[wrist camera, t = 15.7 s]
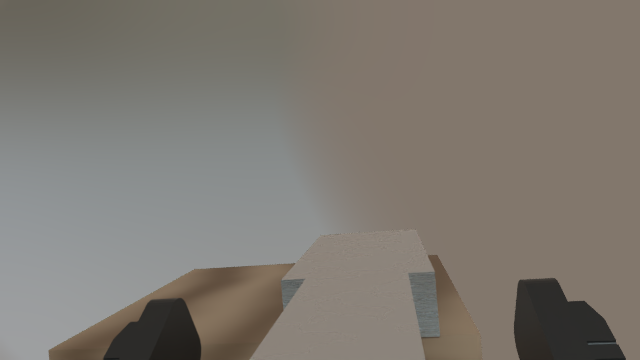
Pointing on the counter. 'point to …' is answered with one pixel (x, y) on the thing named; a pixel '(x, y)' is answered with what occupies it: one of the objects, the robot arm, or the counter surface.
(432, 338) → the tall wood-grain block
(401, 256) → the gray brushed-metal block
